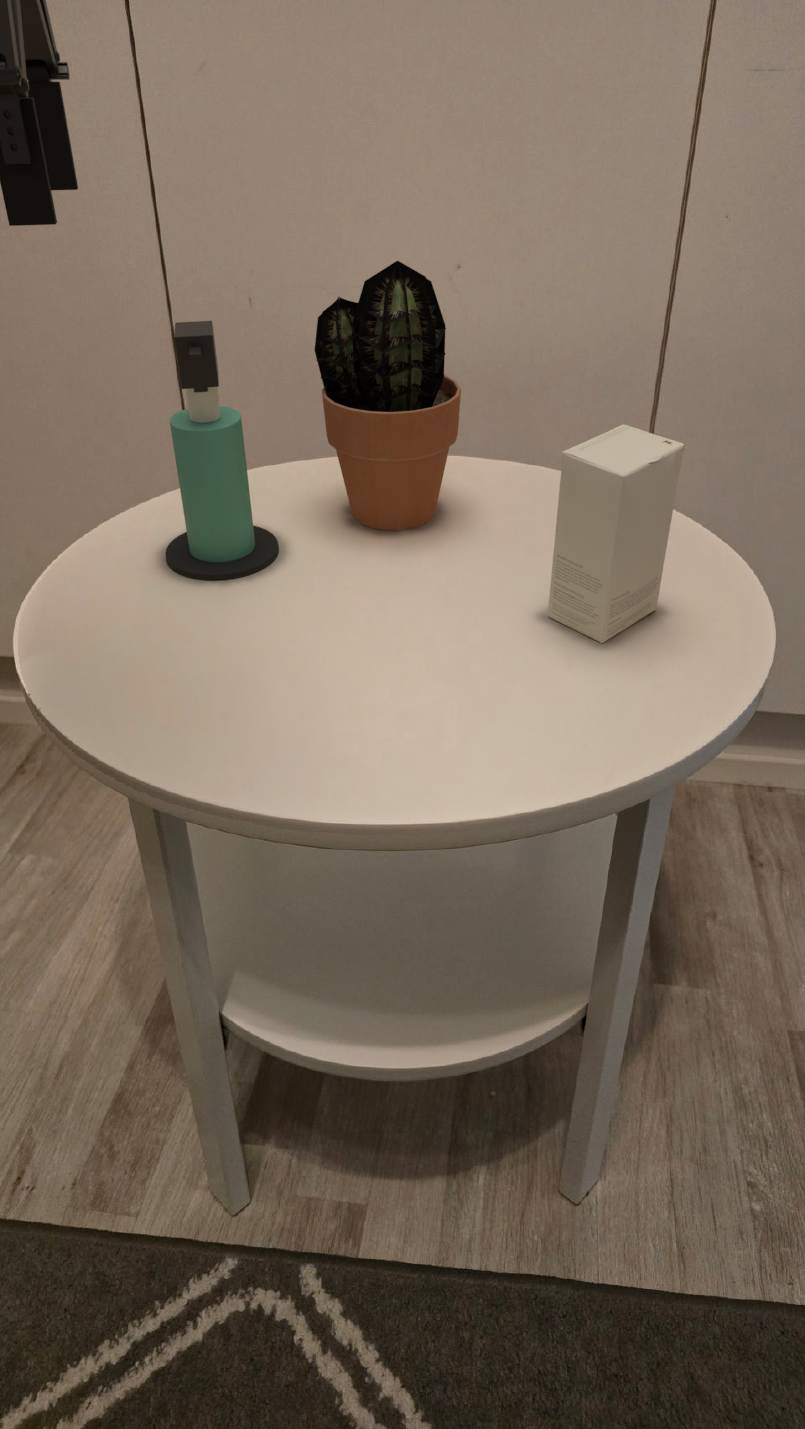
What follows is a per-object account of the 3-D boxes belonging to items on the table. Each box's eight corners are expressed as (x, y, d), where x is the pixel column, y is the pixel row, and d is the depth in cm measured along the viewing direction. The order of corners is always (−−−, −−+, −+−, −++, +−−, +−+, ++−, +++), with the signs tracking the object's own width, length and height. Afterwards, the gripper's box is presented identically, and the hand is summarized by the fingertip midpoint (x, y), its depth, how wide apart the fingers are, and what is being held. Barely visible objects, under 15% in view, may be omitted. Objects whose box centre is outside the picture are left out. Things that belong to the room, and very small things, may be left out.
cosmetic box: (603, 585, 91) (623, 421, 82) (662, 612, 87) (691, 442, 78) (543, 618, 87) (558, 447, 77) (603, 647, 83) (626, 472, 73)
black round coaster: (164, 585, 92) (163, 579, 92) (167, 532, 101) (166, 527, 100) (282, 574, 93) (281, 569, 93) (275, 524, 102) (274, 518, 102)
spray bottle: (190, 535, 99) (156, 320, 86) (253, 530, 100) (230, 316, 87) (189, 570, 93) (153, 345, 81) (257, 564, 94) (232, 340, 81)
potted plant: (432, 478, 111) (434, 237, 96) (477, 530, 100) (487, 267, 85) (315, 496, 108) (298, 248, 93) (348, 550, 97) (335, 281, 82)
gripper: (-62, -200, 62) (15, 179, 75) (-184, -293, 42) (-50, 244, 55) (60, -196, 63) (116, 177, 76) (-2, -286, 43) (88, 240, 56)
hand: (47, 206), depth 65 cm, fingers open, 13 cm apart
